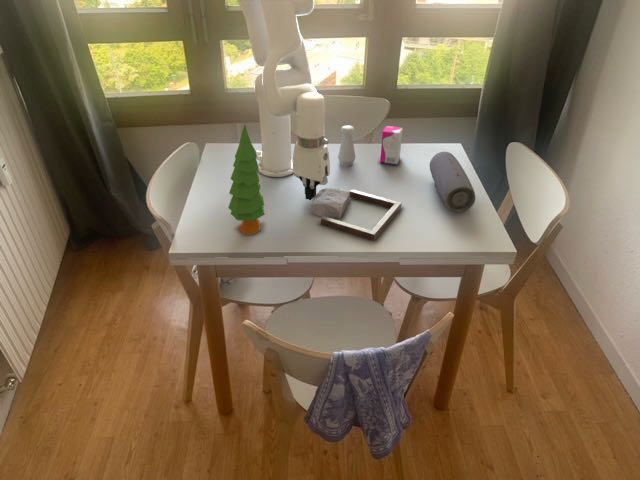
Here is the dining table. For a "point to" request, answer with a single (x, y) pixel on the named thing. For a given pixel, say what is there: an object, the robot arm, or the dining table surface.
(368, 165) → the dining table surface
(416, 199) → the dining table surface
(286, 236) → the dining table surface
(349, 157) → the salt shaker
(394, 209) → the frame
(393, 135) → the supplement box
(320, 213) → the stone block
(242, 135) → the decorative tree
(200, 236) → the dining table surface
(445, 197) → the bluetooth speaker
